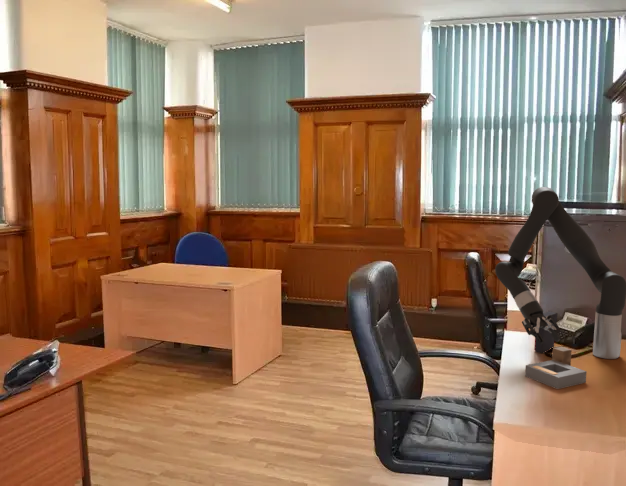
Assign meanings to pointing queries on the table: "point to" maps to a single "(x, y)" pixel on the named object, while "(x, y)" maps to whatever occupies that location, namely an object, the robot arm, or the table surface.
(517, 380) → the table surface
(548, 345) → the black slab
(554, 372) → the socket block
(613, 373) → the table surface
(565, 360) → the walnut peg
